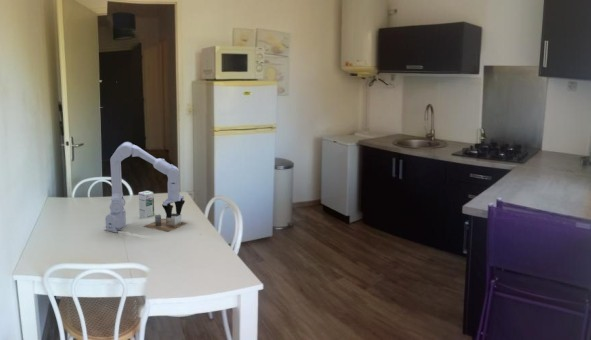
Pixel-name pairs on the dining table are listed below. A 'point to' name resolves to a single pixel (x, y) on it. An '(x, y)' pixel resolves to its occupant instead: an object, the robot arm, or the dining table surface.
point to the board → (163, 226)
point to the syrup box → (146, 204)
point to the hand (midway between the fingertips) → (173, 215)
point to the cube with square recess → (173, 220)
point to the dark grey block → (157, 220)
